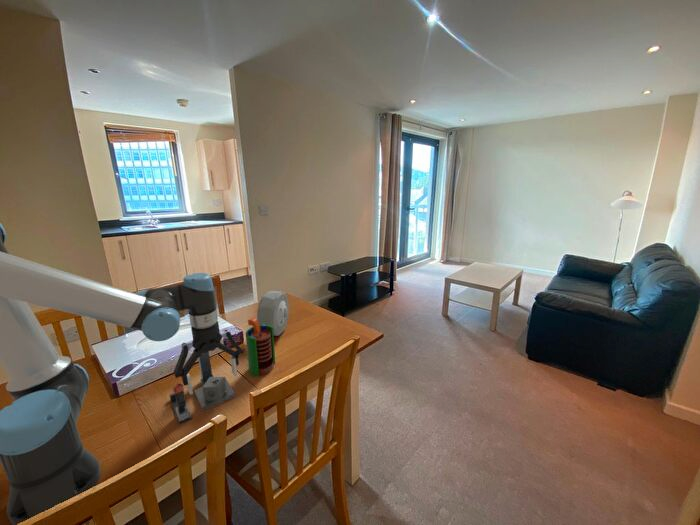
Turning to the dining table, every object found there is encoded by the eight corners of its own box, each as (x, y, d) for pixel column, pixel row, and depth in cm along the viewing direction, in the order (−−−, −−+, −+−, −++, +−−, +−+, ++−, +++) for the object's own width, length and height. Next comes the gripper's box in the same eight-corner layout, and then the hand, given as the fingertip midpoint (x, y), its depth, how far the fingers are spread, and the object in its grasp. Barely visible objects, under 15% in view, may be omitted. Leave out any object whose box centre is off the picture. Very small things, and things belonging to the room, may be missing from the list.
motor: (266, 378, 106) (261, 328, 101) (243, 375, 108) (238, 325, 102) (278, 361, 116) (274, 315, 110) (257, 358, 117) (252, 313, 112)
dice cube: (220, 400, 93) (218, 387, 92) (204, 400, 93) (202, 387, 92) (226, 389, 98) (224, 376, 97) (211, 389, 98) (209, 376, 97)
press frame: (178, 424, 86) (170, 384, 82) (168, 394, 98) (161, 357, 95) (236, 398, 96) (231, 361, 93) (220, 373, 109) (215, 339, 105)
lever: (179, 421, 86) (173, 390, 83) (176, 413, 89) (170, 383, 86) (190, 416, 88) (185, 385, 85) (187, 409, 91) (182, 378, 88)
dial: (280, 345, 127) (276, 302, 121) (254, 343, 129) (250, 300, 123) (295, 323, 146) (293, 285, 141) (273, 321, 148) (270, 284, 143)
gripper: (158, 342, 79) (172, 407, 85) (249, 315, 95) (255, 372, 100) (154, 331, 85) (167, 393, 91) (241, 308, 100) (247, 362, 106)
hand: (213, 382), depth 96 cm, fingers open, 13 cm apart
